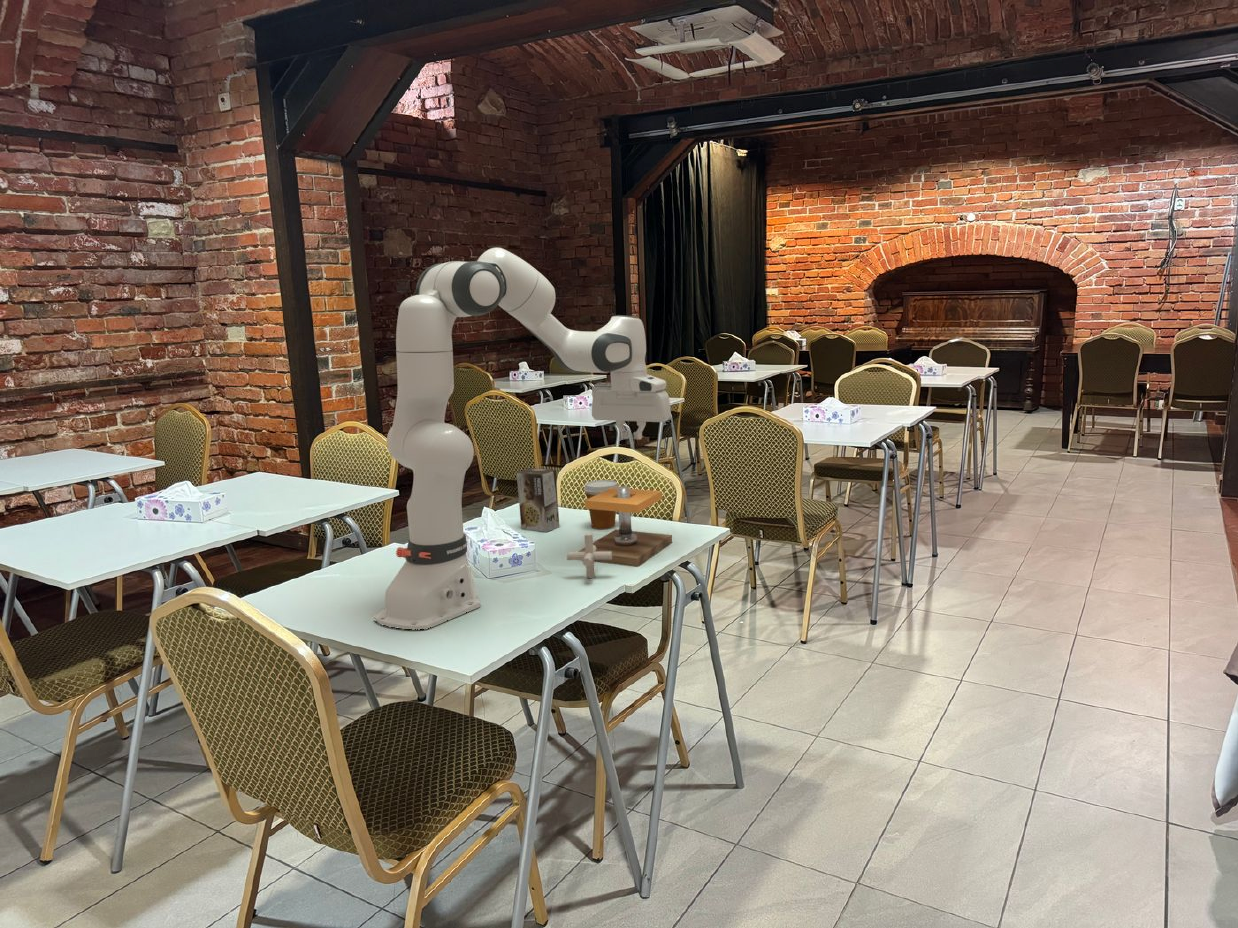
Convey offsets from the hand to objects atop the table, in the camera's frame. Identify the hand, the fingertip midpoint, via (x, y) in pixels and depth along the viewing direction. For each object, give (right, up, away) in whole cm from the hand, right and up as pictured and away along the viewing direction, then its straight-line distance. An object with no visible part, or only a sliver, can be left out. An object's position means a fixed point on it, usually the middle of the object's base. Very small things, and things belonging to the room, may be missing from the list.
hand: (631, 438), depth 209 cm
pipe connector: (-9, -32, -17) cm, 37 cm away
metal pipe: (-1, -26, 0) cm, 26 cm away
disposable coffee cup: (-7, -23, +24) cm, 34 cm away
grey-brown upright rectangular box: (-25, -24, +25) cm, 42 cm away
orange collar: (-2, -16, -2) cm, 16 cm away
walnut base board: (-1, -28, +1) cm, 28 cm away
